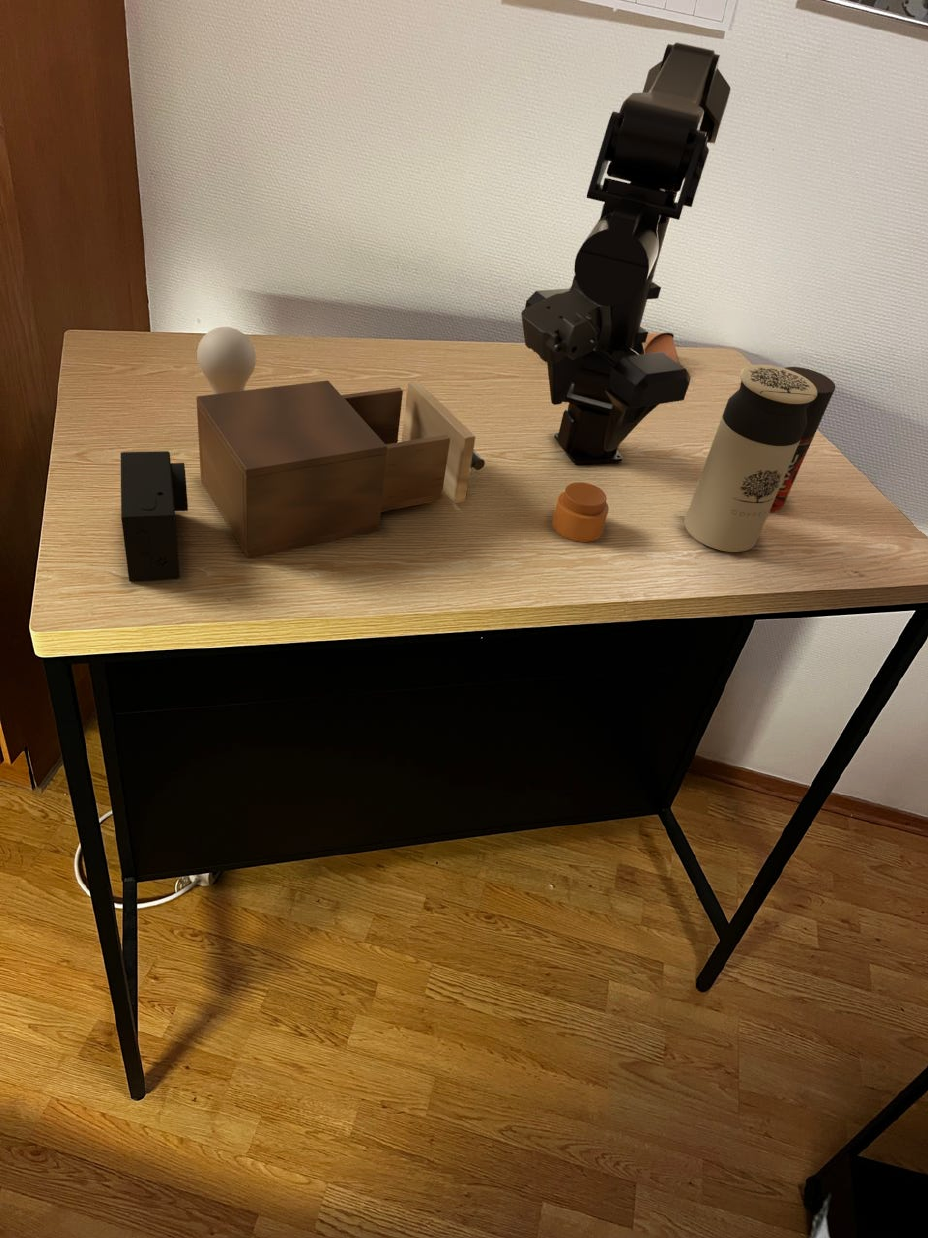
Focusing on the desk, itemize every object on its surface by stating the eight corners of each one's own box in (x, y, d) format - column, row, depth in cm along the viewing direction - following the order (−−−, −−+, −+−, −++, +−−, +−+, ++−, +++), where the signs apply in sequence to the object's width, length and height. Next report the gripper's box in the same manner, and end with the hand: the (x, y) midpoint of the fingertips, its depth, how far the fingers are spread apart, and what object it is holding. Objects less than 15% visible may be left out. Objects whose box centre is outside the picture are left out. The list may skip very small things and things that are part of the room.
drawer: (441, 437, 104) (450, 375, 99) (497, 495, 96) (510, 430, 91) (306, 460, 96) (309, 393, 91) (356, 524, 88) (361, 455, 83)
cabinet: (324, 461, 98) (328, 379, 92) (379, 530, 90) (387, 446, 84) (200, 481, 92) (196, 396, 86) (247, 558, 83) (246, 469, 77)
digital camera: (194, 578, 80) (189, 514, 76) (129, 582, 79) (121, 516, 74) (187, 512, 88) (182, 449, 83) (127, 514, 86) (120, 450, 81)
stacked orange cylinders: (589, 510, 98) (598, 478, 95) (610, 540, 94) (620, 506, 92) (544, 514, 96) (552, 480, 94) (563, 544, 93) (572, 510, 90)
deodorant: (756, 515, 102) (807, 395, 93) (723, 487, 106) (768, 369, 96) (793, 507, 105) (847, 389, 95) (760, 480, 109) (808, 364, 99)
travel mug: (678, 507, 101) (731, 357, 90) (747, 517, 102) (808, 369, 90) (689, 549, 95) (747, 393, 84) (762, 559, 96) (830, 406, 84)
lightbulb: (189, 425, 100) (183, 330, 92) (221, 404, 104) (217, 312, 97) (237, 442, 98) (234, 347, 91) (267, 420, 103) (267, 328, 96)
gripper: (490, 231, 80) (465, 390, 90) (611, 318, 69) (567, 490, 79) (589, 227, 85) (555, 379, 95) (718, 308, 74) (664, 470, 84)
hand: (581, 425), depth 88 cm, fingers open, 9 cm apart
